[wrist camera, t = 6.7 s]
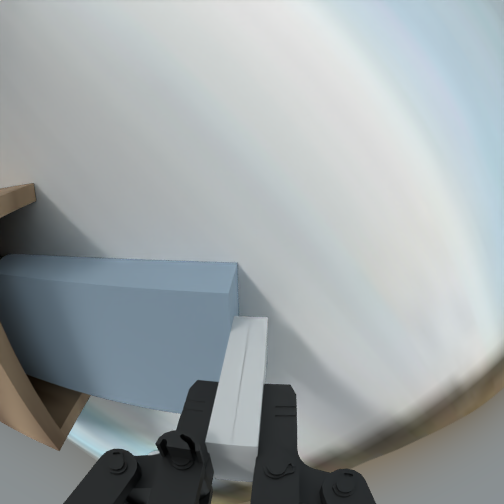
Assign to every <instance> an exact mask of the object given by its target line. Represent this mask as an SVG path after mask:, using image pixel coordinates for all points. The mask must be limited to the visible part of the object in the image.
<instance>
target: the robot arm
mask: <svg viewBox="0 0 504 504" xmlns="http://www.w3.org/2000/svg"><path fill="white" fill-rule="evenodd" d="M267 330H268V317H247V316H234V319H233V323H232V327H231V332H230V336H229V340H228V345H227V349H226V353H225V358H224V362H223V366H222V371H221V375H220V379H219V382H215V381H204V380H197V381H196V382H195V383H194V384H193V385H192V386H191V387H190V388H189V391H188V394H187V397H186V402H185V403H184V407H183V410H182V413H181V416H180V419H179V423H178V426H177V429H176V431H170V432H167V433H165V434H163V435H162V436H161V437H159V439H158V440H157V442H156V446H157V448H158V450H159V452H160V453H158V454H154V455H145V456H134V455H132V454H131V453H130V452H129V451H126V450H123V449H112V450H109V451H107V452H106V453H104V454H103V455H102V456H101V457H100V459H99V460H98V461H97V462H96V464H95V465H94V466H93V467H92V469H91V470H90V471H89V472H88V474H87V475H86V476H85V477H84V479H83V480H82V481H81V482H80V484H79V485H78V486H77V487H76V489H75V490H74V491H73V492H72V494H71V495H70V496H69V497H68V498H67V500H66V501H65V502H64V503H63V504H211V499H212V493H213V491H212V480H213V475H214V478H215V479H223V480H233V481H245V482H253V485H252V494H251V504H376V503H375V501H374V498H373V496H372V494H371V492H370V489H369V487H368V485H367V483H366V481H365V479H364V478H363V476H362V475H361V474H360V473H358V472H356V471H355V470H350V469H339V470H336V471H334V472H332V473H329V472H324V471H320V470H316V469H313V468H311V467H309V466H307V465H306V464H304V463H303V462H302V460H301V459H300V457H299V455H298V451H297V408H296V394H295V392H294V390H293V388H292V387H291V385H284V384H265V379H266V365H267Z"/></svg>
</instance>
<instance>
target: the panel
mask: <svg viewBox="0 0 504 504" xmlns="http://www.w3.org/2000/svg"><path fill="white" fill-rule="evenodd" d="M234 316H239V301H238V268H237V263H231V262H199V261H169V260H142V259H116V258H92V257H69V256H47V255H27V254H7V255H6V256H4V257H3V258H1V259H0V322H1V324H2V326H3V329H4V331H5V333H6V335H7V337H8V340H9V342H10V344H11V346H12V348H13V350H14V352H15V354H16V356H17V358H18V360H19V362H20V364H21V366H22V368H23V370H24V372H25V373H26V374H27V375H30V376H33V377H35V378H38V379H41V380H44V381H47V382H50V383H53V384H56V385H59V386H62V387H65V388H68V389H72V390H75V391H78V392H82V393H85V394H89V395H93V396H96V397H100V398H104V399H108V400H112V401H117V402H121V403H125V404H130V405H135V406H140V407H145V408H150V409H155V410H161V411H167V412H173V413H180V414H181V413H182V410H183V407H184V403H185V402H186V397H187V394H188V391H189V388H190V387H191V386H192V385H193V384H194V383H195V382H196V381H197V380H204V381H215V382H219V379H220V375H221V371H222V366H223V362H224V358H225V353H226V349H227V345H228V340H229V336H230V332H231V327H232V323H233V319H234Z"/></svg>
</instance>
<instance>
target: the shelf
mask: <svg viewBox="0 0 504 504" xmlns="http://www.w3.org/2000/svg"><path fill="white" fill-rule="evenodd" d="M35 201H36V196H35V189H34V183H31V184H25V185H19V186H13V187H7V188H1V189H0V218H1V217H3V216H5V215H7V214H9V213H11V212H13V211H15V210H17V209H20V208H22V207H24V206H26V205H28V204H30V203H33V202H35ZM90 396H91V395H89V394H85V393H82V392H78V391H75V390H72V389H68V388H65V387H62V386H59V385H56V384H53V383H50V382H47V381H44V380H41V379H38V378H35V377H33V376H30V375H27V374H26V373H25V372H24V370H23V368H22V366H21V364H20V362H19V360H18V358H17V356H16V354H15V352H14V350H13V348H12V346H11V344H10V342H9V340H8V337H7V335H6V333H5V331H4V329H3V326H2V324H1V322H0V421H1V422H2V423H4V424H6V425H8V426H10V427H11V428H13V429H15V430H17V431H19V432H21V433H22V434H25V435H26V436H28V437H30V438H32V439H34V440H36V441H39V442H41V443H43V444H45V445H47V446H49V447H52V448H54V449H56V450H58V451H60V449H61V447H62V445H63V443H64V441H65V440H66V438H67V436H68V434H69V432H70V431H71V429H72V427H73V425H74V423H75V422H76V420H77V418H78V416H79V415H80V413H81V411H82V409H83V408H84V406H85V404H86V402H87V401H88V399H89V397H90Z"/></svg>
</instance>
